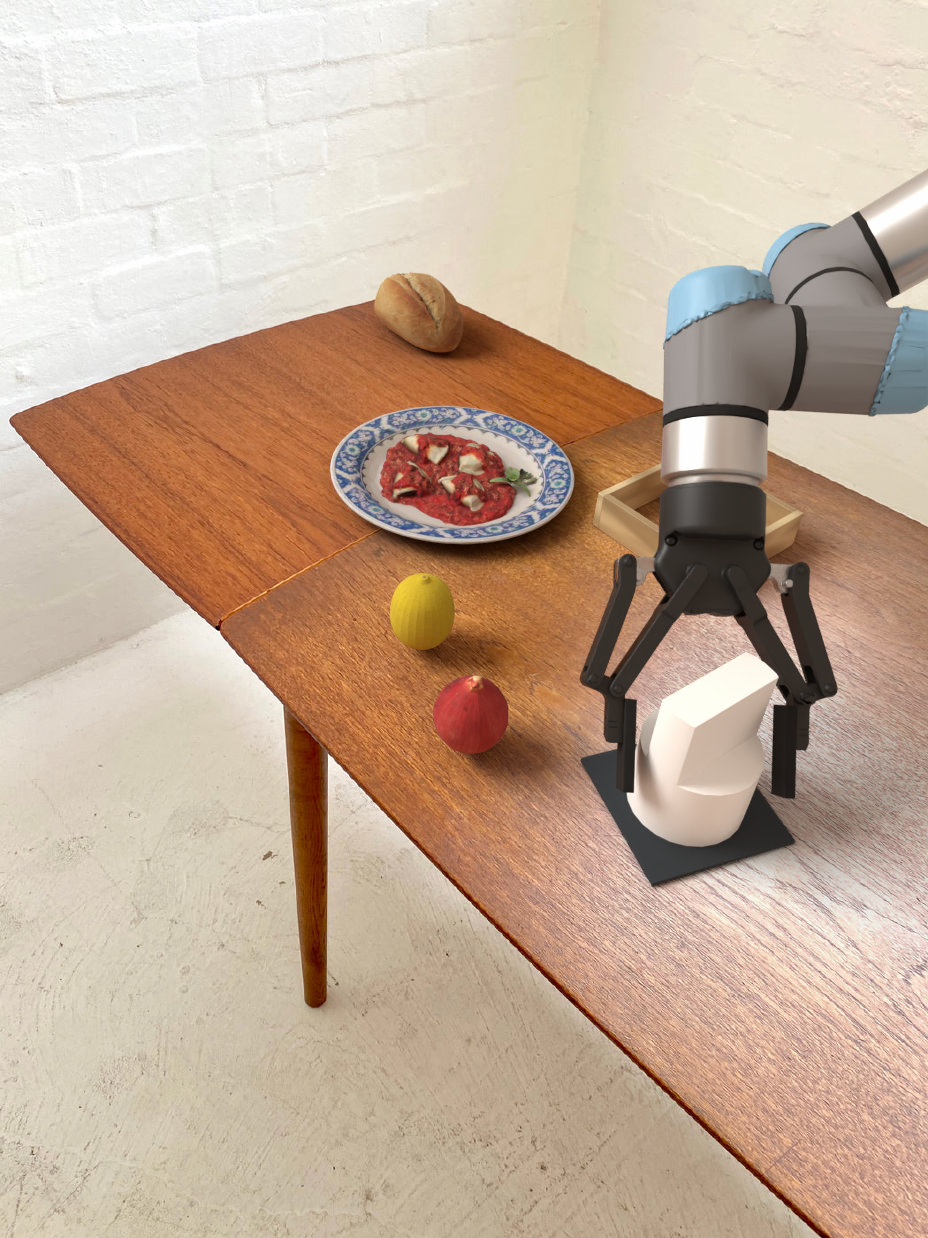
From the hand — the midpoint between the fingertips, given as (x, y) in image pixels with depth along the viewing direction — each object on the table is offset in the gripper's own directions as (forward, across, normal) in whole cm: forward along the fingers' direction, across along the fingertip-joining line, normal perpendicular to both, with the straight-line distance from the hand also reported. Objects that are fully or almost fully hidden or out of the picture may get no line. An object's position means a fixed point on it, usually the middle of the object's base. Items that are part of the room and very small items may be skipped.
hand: (704, 793), depth 70 cm
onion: (-2, +17, -9) cm, 19 cm away
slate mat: (+1, 0, -5) cm, 5 cm away
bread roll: (-52, +23, -59) cm, 82 cm away
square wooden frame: (-23, -7, -30) cm, 38 cm away
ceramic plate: (-28, +18, -35) cm, 48 cm away
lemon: (-10, +21, -17) cm, 28 cm away
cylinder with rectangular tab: (+1, 0, -5) cm, 5 cm away
